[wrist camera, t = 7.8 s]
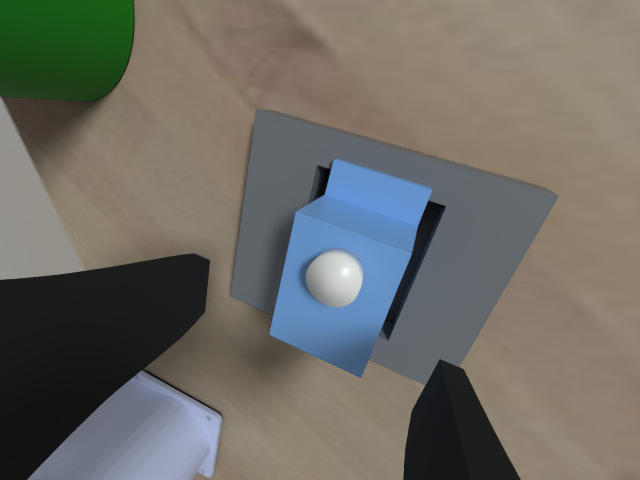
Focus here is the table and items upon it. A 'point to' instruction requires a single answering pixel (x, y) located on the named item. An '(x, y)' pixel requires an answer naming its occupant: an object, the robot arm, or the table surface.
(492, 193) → the grey flat frame
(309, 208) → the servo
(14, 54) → the motor
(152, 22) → the table surface
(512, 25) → the table surface
